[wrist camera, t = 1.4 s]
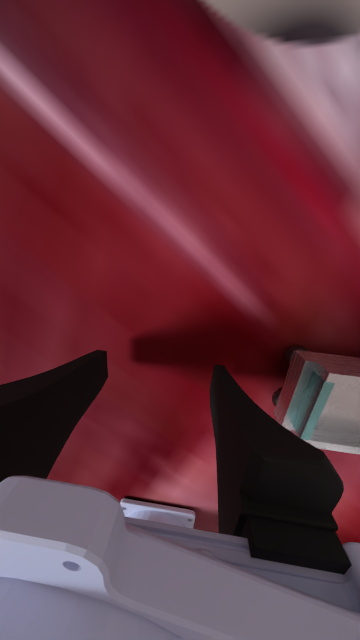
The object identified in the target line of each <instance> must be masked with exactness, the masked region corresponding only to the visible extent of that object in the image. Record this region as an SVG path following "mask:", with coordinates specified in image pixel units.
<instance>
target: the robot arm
mask: <svg viewBox="0 0 360 640" xmlns="http://www.w3.org/2000/svg"><path fill="white" fill-rule="evenodd" d="M107 377H108V369H107V351H102V350H96V351H93V352H91V353H89V354H86V355H84V356H82V357H80V358H77V359H75V360H73V361H71V362H69V363H66V364H64V365H61V366H59V367H56V368H54V369H52V370H49V371H46V372H43V373H41V374H38V375H35V376H32V377H28V378H25V379H21V380H18V381H14V382H10V383H7V384H2V385H0V640H360V543H355V542H347V543H343V544H341V542H340V540H339V538H338V536H337V534H336V532H335V531H337V530H338V526H337V523H336V521H335V519H334V518H333V516H332V514H331V513H332V511H333V510H334V508H335V506H336V505H337V503H338V502H339V500H340V498H341V496H342V493H343V490H344V488H343V482H342V480H341V478H340V477H339V475H338V473H337V472H336V470H335V469H334V467H333V465H332V464H331V462H330V461H329V459H328V458H327V456H326V455H325V454H324V452H323V451H321V450H319V449H318V448H316V447H314V446H313V445H311V444H309V443H308V442H306V441H304V440H303V439H301V438H299V437H298V436H296V435H295V434H293V433H292V432H291V431H289V430H288V429H286V428H285V427H283V426H282V425H281V424H279V423H278V422H277V421H275V420H274V419H273V418H272V417H270V416H269V415H268V414H267V413H266V412H264V411H263V410H262V409H261V408H260V407H259V406H258V405H257V404H256V403H254V402H253V401H252V400H251V399H250V398H249V396H248V395H247V394H246V393H245V392H244V391H243V390H242V389H241V388H240V386H239V385H238V384H237V383H236V381H235V380H234V379H233V377H232V376H231V375H230V373H229V372H228V371H227V369H226V368H225V367H224V366H222V365H214V369H213V375H212V381H211V386H210V408H211V415H212V422H213V429H214V436H215V444H216V460H217V483H218V518H219V533H215V532H209V531H204V530H198V529H193V527H194V522H195V512H194V511H193V510H189V509H183V508H177V507H172V506H166V505H160V504H154V503H148V502H143V501H137V500H131V499H125V498H124V499H122V500H121V502H119V500H117V499H116V498H115V497H113V496H112V495H111V494H110V493H108V492H106V491H103V490H100V489H97V488H94V487H89V486H83V485H78V484H72V483H66V482H60V481H54V480H48V479H46V478H47V476H48V475H49V473H50V471H51V469H52V467H53V465H54V463H55V461H56V459H57V457H58V456H59V454H60V452H61V450H62V448H63V447H64V445H65V443H66V441H67V439H68V438H69V436H70V434H71V433H72V431H73V429H74V427H75V426H76V424H77V423H78V421H79V420H80V418H81V417H82V416H83V414H84V413H85V412H86V410H87V409H88V407H89V406H90V405H91V403H92V402H93V400H94V399H95V398H96V396H97V395H98V393H99V392H100V390H101V389H102V387H103V385H104V383H105V381H106V379H107Z"/></svg>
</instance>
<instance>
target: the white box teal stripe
mask: <svg viewBox="0 0 360 640" xmlns="http://www.w3.org/2000/svg"><path fill="white" fill-rule="evenodd" d="M286 359H287V361H288V362H289V363H290V366H289V369H288V372H287V375H286V378H285V381H284V384H283V387H282V390H278V391H276V392H275V393H274V394H273V396H272V402H273V404H274V406H275V407H276V408H275V411H274V415H275V418H276V420H277V422H278V423H279V424H281V425H282V426H283V427H285V428H286V429H288V430H291V432H292V433H293V434H295V435H296V436H298V437H299V438H301V439H303V440H304V441H306V442H308V443H309V444H311V445H313V446H314V447H316V448H319V449H326V450H333V451H340V452H347V453H353V454H360V358H358V357H349V356H341V355H332V354H324V353H316V352H310V351H309V350H308V349H307V348H305V347H303V346H298V345H297V346H292V347H290V348H289V349H288V350H287V352H286Z"/></svg>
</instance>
